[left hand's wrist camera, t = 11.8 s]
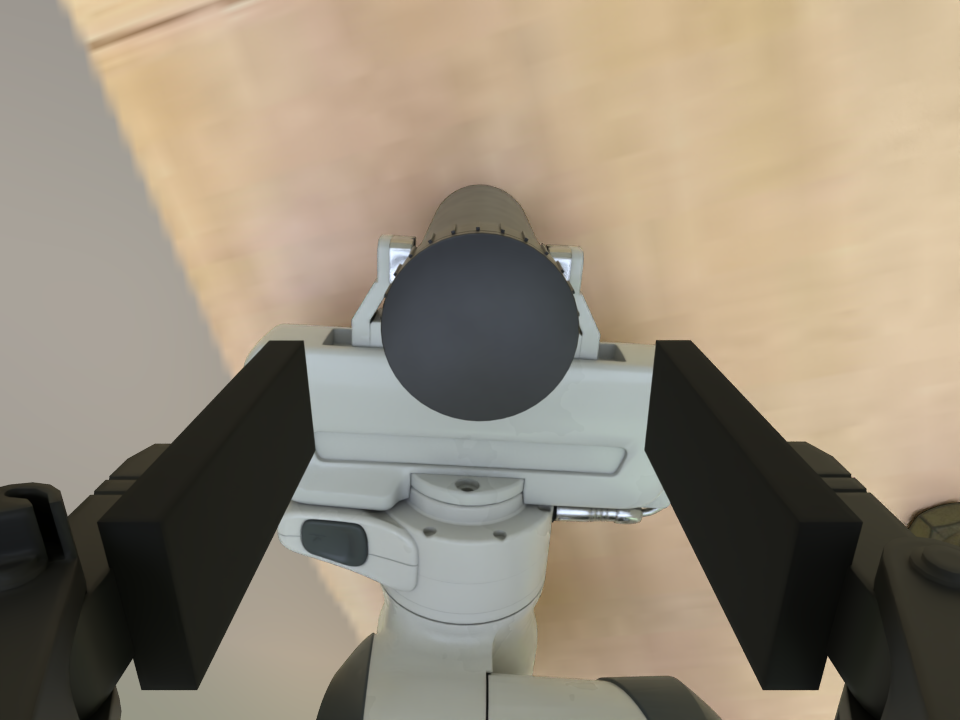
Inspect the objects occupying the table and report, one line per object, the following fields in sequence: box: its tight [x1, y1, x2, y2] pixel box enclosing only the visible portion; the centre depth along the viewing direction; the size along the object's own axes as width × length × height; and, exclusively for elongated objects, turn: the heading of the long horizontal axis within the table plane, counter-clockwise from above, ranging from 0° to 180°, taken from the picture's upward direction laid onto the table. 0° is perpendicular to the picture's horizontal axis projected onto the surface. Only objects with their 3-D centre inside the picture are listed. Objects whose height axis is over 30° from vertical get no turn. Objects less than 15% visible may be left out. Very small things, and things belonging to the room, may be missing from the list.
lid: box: [380, 221, 580, 421], centre depth 19 cm, size 6×6×2 cm
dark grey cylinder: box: [422, 185, 538, 243], centre depth 26 cm, size 5×5×16 cm
